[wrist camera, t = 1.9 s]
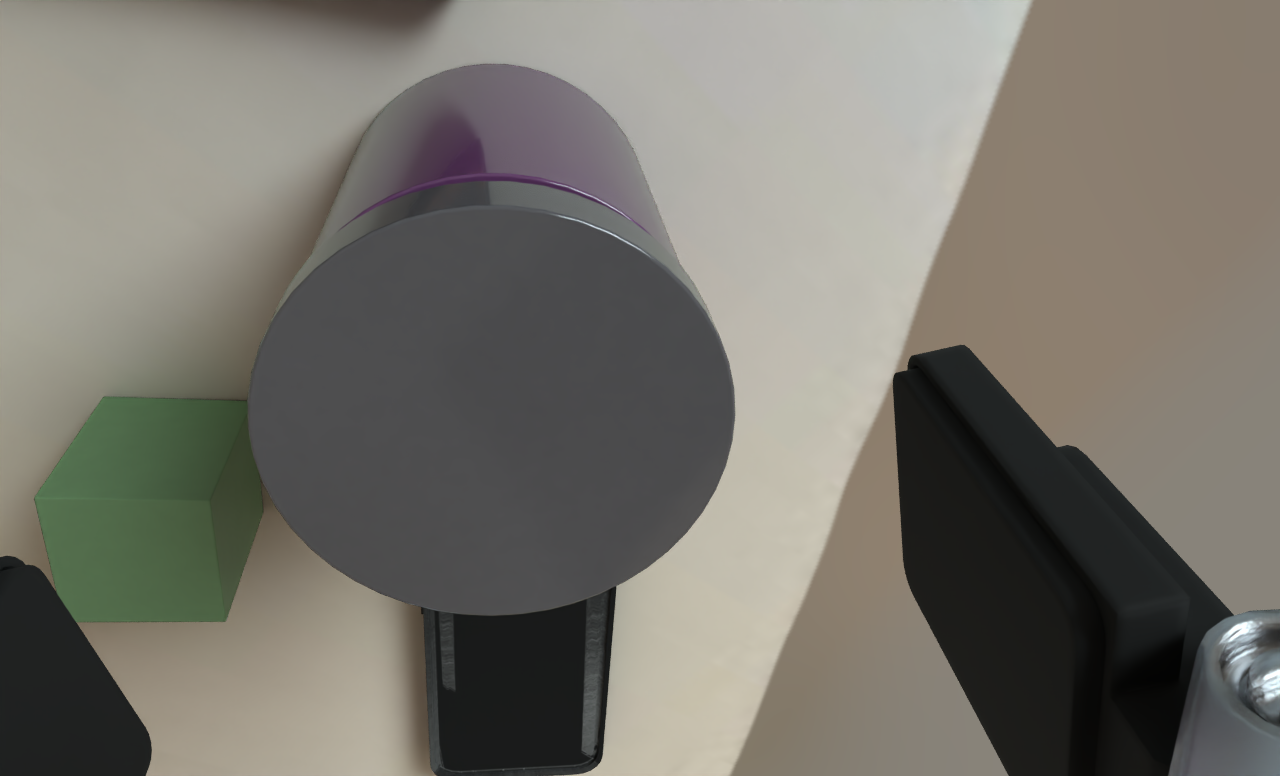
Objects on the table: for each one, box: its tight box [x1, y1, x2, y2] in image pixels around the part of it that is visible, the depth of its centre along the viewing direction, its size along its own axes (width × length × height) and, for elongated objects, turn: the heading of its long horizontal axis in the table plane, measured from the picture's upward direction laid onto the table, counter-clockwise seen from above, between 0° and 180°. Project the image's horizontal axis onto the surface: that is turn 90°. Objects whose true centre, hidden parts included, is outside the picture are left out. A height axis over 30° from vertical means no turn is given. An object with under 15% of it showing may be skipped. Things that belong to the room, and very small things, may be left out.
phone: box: [421, 586, 616, 776], centre depth 42 cm, size 8×1×15 cm
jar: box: [247, 64, 735, 616], centre depth 27 cm, size 10×10×14 cm
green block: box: [34, 397, 263, 622], centre depth 33 cm, size 5×5×6 cm
